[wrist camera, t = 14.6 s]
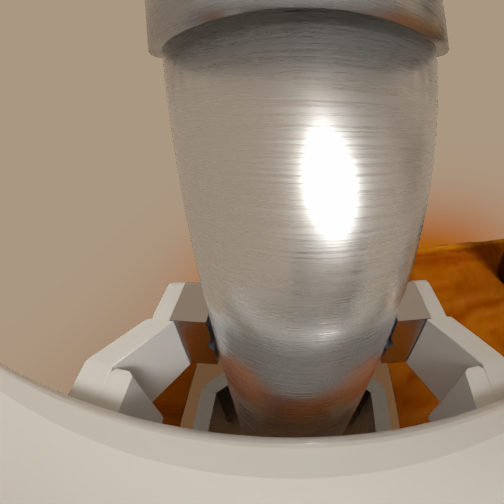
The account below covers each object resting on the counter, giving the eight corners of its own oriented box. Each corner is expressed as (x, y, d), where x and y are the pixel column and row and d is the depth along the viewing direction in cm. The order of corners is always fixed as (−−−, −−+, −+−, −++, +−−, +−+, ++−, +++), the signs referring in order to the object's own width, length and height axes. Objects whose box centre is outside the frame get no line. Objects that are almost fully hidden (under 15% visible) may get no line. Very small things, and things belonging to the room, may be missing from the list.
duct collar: (381, 363, 19) (399, 317, 16) (400, 534, 8) (441, 529, 5) (203, 363, 21) (187, 318, 18) (161, 530, 9) (121, 525, 7)
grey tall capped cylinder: (333, 403, 15) (383, 17, 5) (336, 479, 10) (497, -34, 1) (249, 403, 15) (194, 20, 5) (239, 478, 11) (77, -38, 1)
